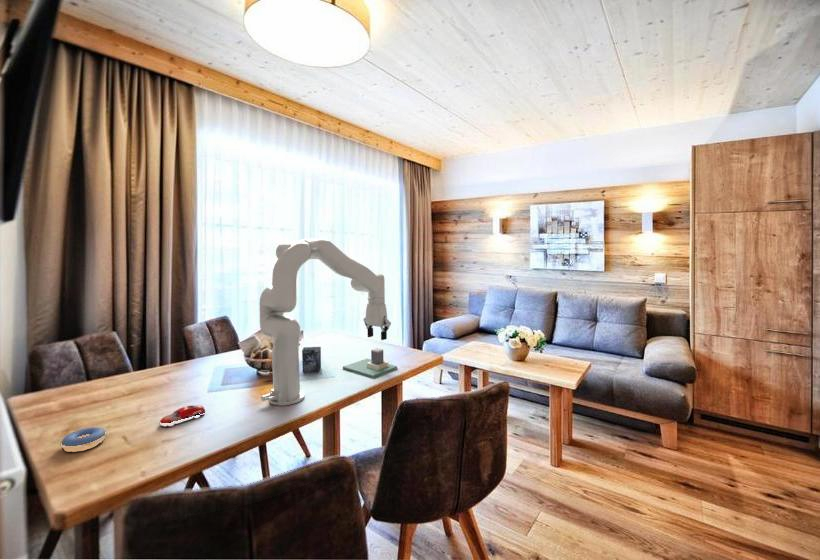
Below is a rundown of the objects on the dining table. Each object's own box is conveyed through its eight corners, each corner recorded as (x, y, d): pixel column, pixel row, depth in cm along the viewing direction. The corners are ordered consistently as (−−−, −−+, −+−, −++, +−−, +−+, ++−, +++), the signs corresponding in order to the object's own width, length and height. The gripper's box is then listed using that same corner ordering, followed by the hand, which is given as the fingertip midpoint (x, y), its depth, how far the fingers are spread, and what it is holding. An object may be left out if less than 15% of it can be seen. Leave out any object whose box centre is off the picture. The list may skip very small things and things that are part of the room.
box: (302, 372, 169) (301, 350, 168) (304, 368, 175) (303, 347, 174) (320, 372, 170) (319, 349, 169) (321, 368, 176) (320, 346, 175)
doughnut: (50, 454, 103) (51, 438, 103) (80, 438, 113) (81, 423, 113) (87, 457, 103) (88, 440, 103) (114, 440, 113) (115, 425, 113)
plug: (377, 368, 171) (377, 351, 170) (371, 366, 173) (371, 349, 173) (383, 366, 174) (383, 349, 173) (377, 364, 176) (377, 348, 176)
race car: (162, 430, 117) (161, 418, 117) (157, 425, 121) (156, 413, 120) (207, 416, 127) (206, 405, 126) (201, 411, 130) (200, 400, 130)
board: (373, 378, 162) (373, 371, 161) (342, 369, 174) (342, 362, 174) (397, 368, 174) (397, 362, 174) (367, 360, 186) (367, 354, 186)
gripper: (357, 300, 173) (358, 337, 175) (384, 303, 162) (385, 342, 164) (369, 298, 179) (369, 334, 181) (396, 301, 168) (396, 339, 170)
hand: (377, 338), depth 172 cm, fingers open, 8 cm apart
